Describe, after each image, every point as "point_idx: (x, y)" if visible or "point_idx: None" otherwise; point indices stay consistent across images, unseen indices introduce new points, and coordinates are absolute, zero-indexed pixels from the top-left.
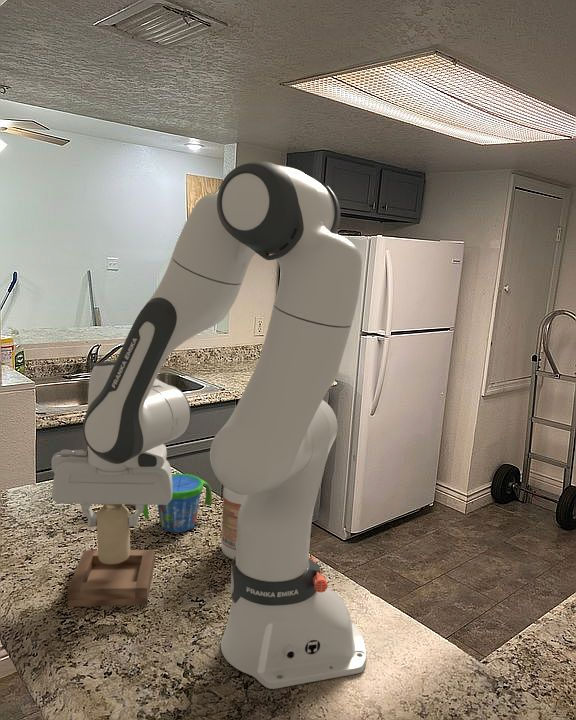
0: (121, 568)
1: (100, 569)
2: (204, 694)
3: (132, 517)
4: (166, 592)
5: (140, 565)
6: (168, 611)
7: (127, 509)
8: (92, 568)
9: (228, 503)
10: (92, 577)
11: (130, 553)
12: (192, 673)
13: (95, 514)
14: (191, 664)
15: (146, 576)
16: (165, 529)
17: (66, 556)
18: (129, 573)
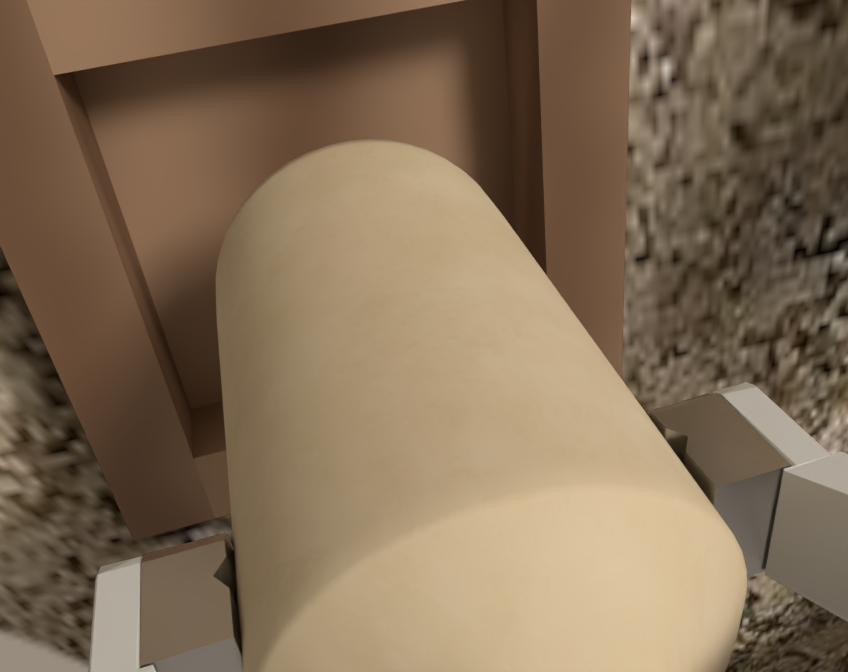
0: (341, 58)
1: (167, 101)
2: (776, 665)
3: (752, 557)
4: (667, 208)
5: (543, 164)
6: (679, 363)
7: (740, 606)
8: (89, 101)
9: None
10: (162, 230)
11: None
12: (752, 619)
13: (198, 666)
14: (752, 592)
15: (603, 294)
16: None
17: None
18: (426, 123)
